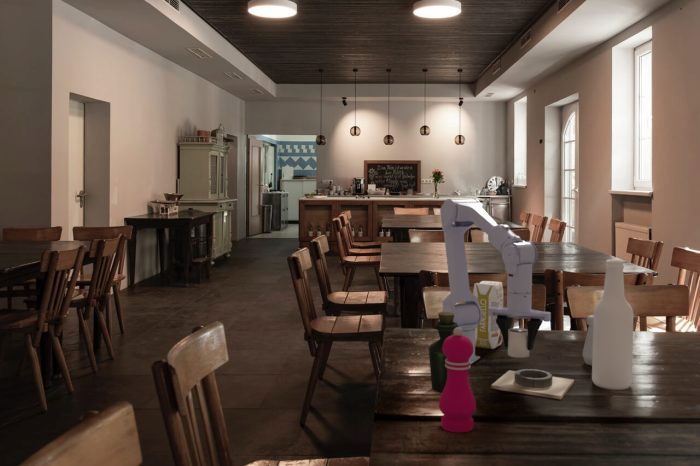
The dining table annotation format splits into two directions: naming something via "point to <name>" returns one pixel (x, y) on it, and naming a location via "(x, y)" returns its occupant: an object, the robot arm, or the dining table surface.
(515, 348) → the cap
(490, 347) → the juice carton
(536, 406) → the dining table surface
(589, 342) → the salt shaker
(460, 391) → the pepper mill
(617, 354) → the alcohol
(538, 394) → the stand
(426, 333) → the dining table surface
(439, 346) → the potion bottle
